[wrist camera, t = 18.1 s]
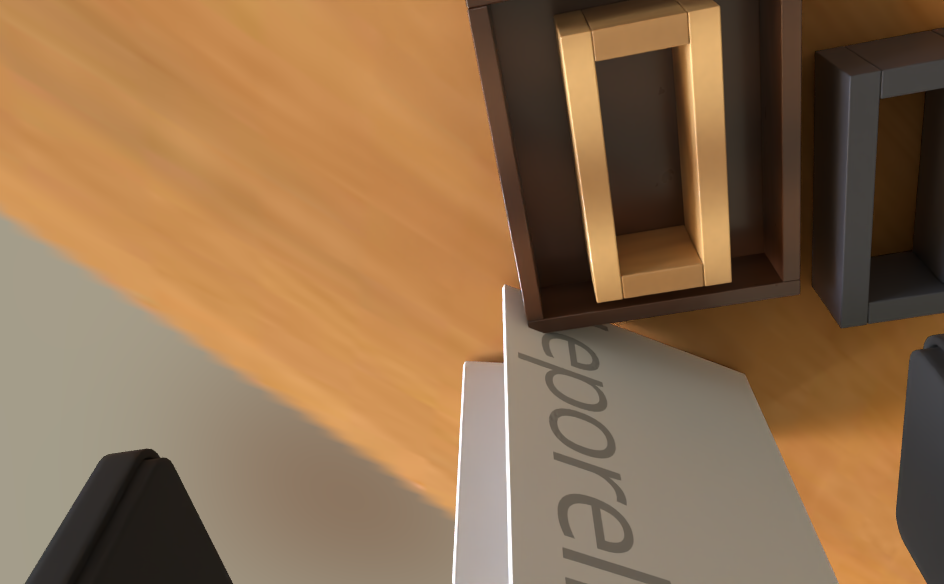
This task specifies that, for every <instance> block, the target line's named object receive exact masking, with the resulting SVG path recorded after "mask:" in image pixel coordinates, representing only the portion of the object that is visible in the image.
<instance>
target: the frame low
mask: <svg viewBox="0 0 944 584" xmlns="http://www.w3.org/2000/svg"><path fill="white" fill-rule="evenodd" d="M924 91H926V95H925V107H924V119H923V131H922V143H921V155H920V166H919V178H918V190H917V202H916V214H915V226H914V238H913V250H912V251H908V252H901V253H895V254H888V255H882V256H876V257H871V243H872V225H873V207H874V189H875V171H876V153H877V135H878V117H879V99H884V98H890V97H895V96H901V95H907V94H912V93H918V92H924ZM812 287H813V288H814V290H815V291H816V293H817V294H818V296H819V297H820V299H821V300H822V301H823V303H824V304H825V306H826V307H827V309H828V310H829V312H830V313H831V315H832V316H833V317H834V319H835V320H836V322H837V323H838V325H839V326H840V328H847V327H854V326H861V325H866V324H867V323H868V324H871V323H878V322H885V321H892V320H899V319H905V318H912V317H919V316H926V315H933V314H939V313H944V28H940V29H934V30H931V31H924V32H918V33H913V34H908V35H902V36H897V37H892V38H886V39H881V40H875V41H870V42H865V43H859V44H854V45H848V46H845V47H843V46H841V47H836V48H831V49H825V50H820V51H816V52H815V103H814V170H813V238H812Z"/></svg>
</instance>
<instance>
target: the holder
mask: <svg viewBox="0 0 944 584" xmlns="http://www.w3.org/2000/svg"><path fill="white" fill-rule="evenodd" d="M465 1H466V6H467V8H468V10H467V12H468V17H469V22H470V27H471V32H472V38H473V43H474V48H475V53H476V58H477V64H478V69H479V74H480V79H481V84H482V90H483V95H484V100H485V105H486V110H487V115H488V121H489V126H490V131H491V136H492V141H493V147H494V152H495V157H496V162H497V167H498V173H499V178H500V183H501V188H502V193H503V199H504V204H505V209H506V214H507V219H508V225H509V230H510V235H511V240H512V245H513V250H514V256H515V261H516V266H517V271H518V276H519V282H520V287H521V292H522V297H523V302H524V308H525V313H526V318H527V323H528V327H529V328H531V329H534V330H536V331H539V332H542V333H550V332H557V331H563V330H570V329H576V328H583V327H589V326H596V325H602V324H609V323H615V322H622V321H629V320H635V319H642V318H648V317H655V316H661V315H668V314H674V313H681V312H688V311H694V310H701V309H707V308H714V307H720V306H727V305H733V304H740V303H747V302H753V301H760V300H766V299H773V298H779V297H786V296H792V295H799V294H800V233H801V76H802V0H713V1H714V2H716V3H717V4H718V5H719V6H720V10H721V34H722V58H723V82H724V105H725V129H726V153H727V177H728V200H729V224H730V248H731V272H732V282H730V283H723V284H717V285H711V286H705V285H704V286H702V287H696V288H689V289H683V290H677V291H670V292H664V293H657V294H651V295H644V296H638V297H632V298H624V297H623V299H620V300H614V301H607V302H601V303H597V301H596V296H595V292H594V287H593V282H592V278H591V273H590V269H589V264H588V259H587V252H586V245H585V237H584V230H583V223H582V216H581V209H580V202H579V195H578V188H577V181H576V174H575V167H574V160H573V153H572V146H571V139H570V132H569V125H568V118H567V111H566V104H565V97H564V90H563V83H562V76H561V69H560V62H559V55H558V47H557V40H556V33H555V26H554V19H553V16H554V15H557V14H562V13H567V12H572V11H577V10H581V11H582V10H583V9H587V8H592V7H597V6H602V5H607V4H612V3H617V2H622V1H627V0H465ZM595 66H596V75H597V83H598V91H599V100H600V108H601V116H602V125H603V133H604V141H605V149H606V158H607V166H608V174H609V183H610V191H611V199H612V208H613V216H614V224H615V233H616V236H620V235H626V234H632V233H638V232H644V231H650V230H656V229H662V228H668V227H674V226H681V225H684V226H685V221H684V207H683V193H682V179H681V166H680V152H679V138H678V124H677V110H676V97H675V83H674V69H673V55H672V47H671V48H666V49H660V50H655V51H650V52H644V53H639V54H634V55H629V56H623V57H618V58H613V59H608V60H602V61H597V62H596V61H595Z"/></svg>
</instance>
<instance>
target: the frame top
mask: <svg viewBox="0 0 944 584" xmlns="http://www.w3.org/2000/svg"><path fill="white" fill-rule="evenodd" d="M553 19H554V26H555V33H556V40H557V47H558V55H559V62H560V69H561V76H562V83H563V90H564V97H565V104H566V111H567V118H568V125H569V132H570V139H571V146H572V153H573V160H574V167H575V174H576V181H577V188H578V195H579V202H580V209H581V216H582V223H583V230H584V237H585V245H586V252H587V259H588V264H589V269H590V273H591V278H592V282H593V287H594V292H595V296H596V301H597V303H601V302H607V301H614V300H620V299H623V297H624V298H632V297H638V296H644V295H651V294H657V293H664V292H670V291H677V290H683V289H689V288H696V287H702V286H704V285H705V286H711V285H717V284H723V283H730V282H732V272H731V248H730V224H729V200H728V177H727V153H726V129H725V105H724V82H723V58H722V34H721V10H720V6H719V5H718V4H717V3H716V2H714V1H713V0H627V1H622V2H617V3H612V4H607V5H602V6H597V7H592V8H587V9H583V10H582V11H581V10H577V11H572V12H567V13H562V14H557V15H554V16H553ZM671 47H672V55H673V69H674V83H675V97H676V110H677V124H678V138H679V152H680V166H681V179H682V193H683V207H684V221H685V226H684V225H681V226H674V227H668V228H662V229H656V230H650V231H644V232H638V233H632V234H626V235H620V236H616V233H615V224H614V216H613V208H612V199H611V191H610V183H609V174H608V166H607V158H606V149H605V141H604V133H603V125H602V116H601V108H600V100H599V91H598V83H597V75H596V66H595V61H596V62H597V61H602V60H608V59H613V58H618V57H623V56H629V55H634V54H639V53H644V52H650V51H655V50H660V49H666V48H671Z"/></svg>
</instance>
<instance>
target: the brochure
mask: <svg viewBox="0 0 944 584" xmlns="http://www.w3.org/2000/svg"><path fill="white" fill-rule="evenodd" d="M502 297H503V342H504V363H495V362H474V361H465V363H464V365H463V381H462V401H461V420H460V440H459V460H458V479H457V499H456V518H455V539H454V558H453V578H452V584H839V583H838V581H837V578H836V576H835V574H834V572H833V569H832V567H831V565H830V563H829V561H828V558H827V556H826V554H825V552H824V549H823V547H822V545H821V543H820V540H819V538H818V536H817V534H816V532H815V529H814V527H813V525H812V523H811V520H810V518H809V516H808V514H807V512H806V509H805V507H804V505H803V503H802V500H801V498H800V496H799V494H798V491H797V489H796V487H795V485H794V483H793V480H792V478H791V476H790V474H789V471H788V469H787V467H786V465H785V463H784V460H783V458H782V456H781V454H780V451H779V449H778V447H777V445H776V442H775V440H774V438H773V436H772V434H771V431H770V429H769V427H768V425H767V422H766V420H765V418H764V416H763V413H762V411H761V409H760V407H759V405H758V402H757V400H756V398H755V396H754V393H753V391H752V389H751V387H750V385H749V382H748V380H747V378H746V376H745V374H743V373H740V372H738V371H735V370H732V369H730V368H727V367H724V366H722V365H719V364H716V363H714V362H711V361H708V360H706V359H703V358H700V357H698V356H695V355H692V354H690V353H687V352H684V351H682V350H679V349H676V348H674V347H671V346H668V345H666V344H663V343H660V342H658V341H655V340H652V339H650V338H647V337H644V336H642V335H639V334H636V333H634V332H631V331H628V330H626V329H623V328H620V327H618V326H615V325H612V324H610V323H609V324H602V325H596V326H589V327H583V328H576V329H570V330H563V331H557V332H550V333H542V332H539V331H536V330H534V329H531V328H529V327H528V323H527V318H526V313H525V308H524V302H523V297H522V292H521V290H519V289H516V288H513V287H511V286H508V285H505V284H504V286H503V288H502Z"/></svg>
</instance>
